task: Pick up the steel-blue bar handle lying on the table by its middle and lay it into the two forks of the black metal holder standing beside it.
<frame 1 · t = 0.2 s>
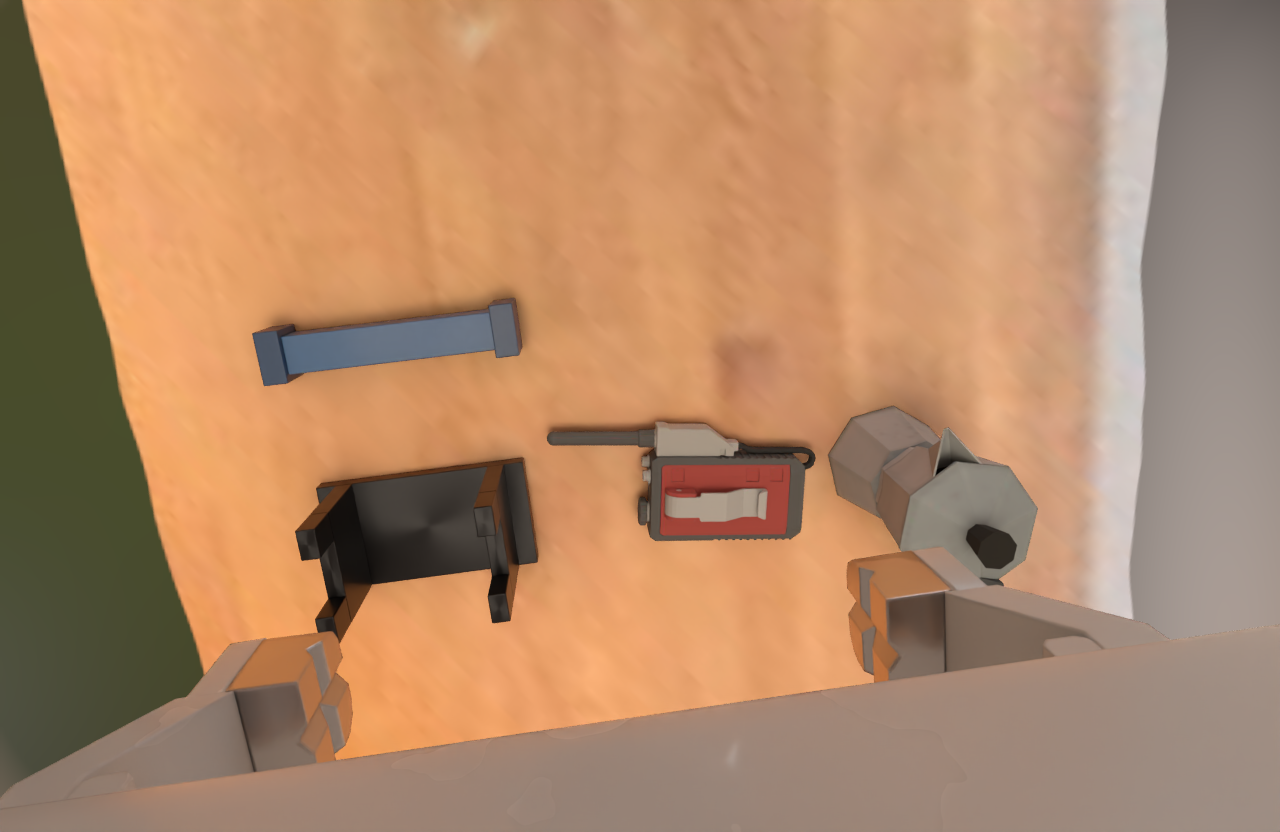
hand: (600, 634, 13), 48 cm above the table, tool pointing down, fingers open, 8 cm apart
holder: (431, 520, 62), on the table
coffee maker: (884, 472, 64), on the table
walkie-talkie: (679, 474, 63), on the table
handle: (398, 337, 59), on the table
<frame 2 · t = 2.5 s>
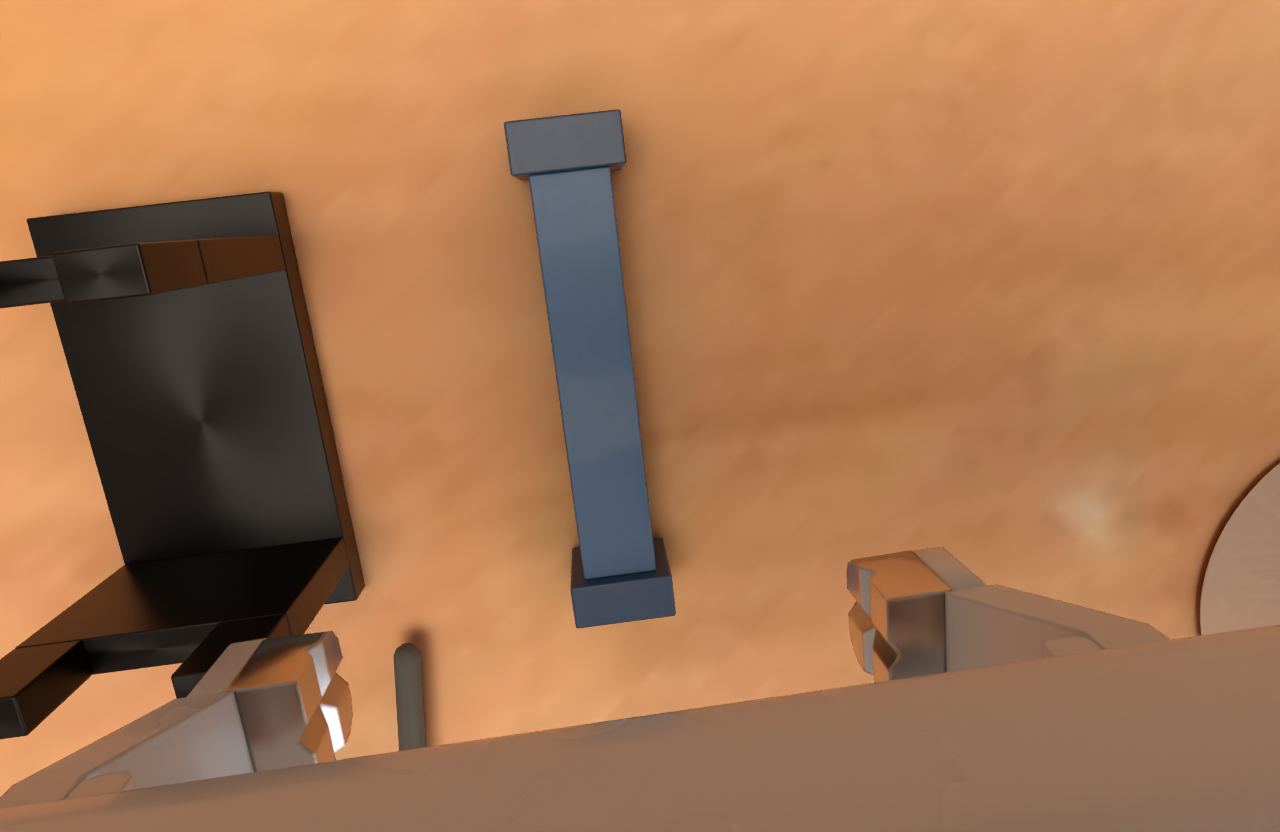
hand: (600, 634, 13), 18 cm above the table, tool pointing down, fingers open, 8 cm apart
holder: (217, 414, 30), on the table
handle: (595, 368, 31), on the table
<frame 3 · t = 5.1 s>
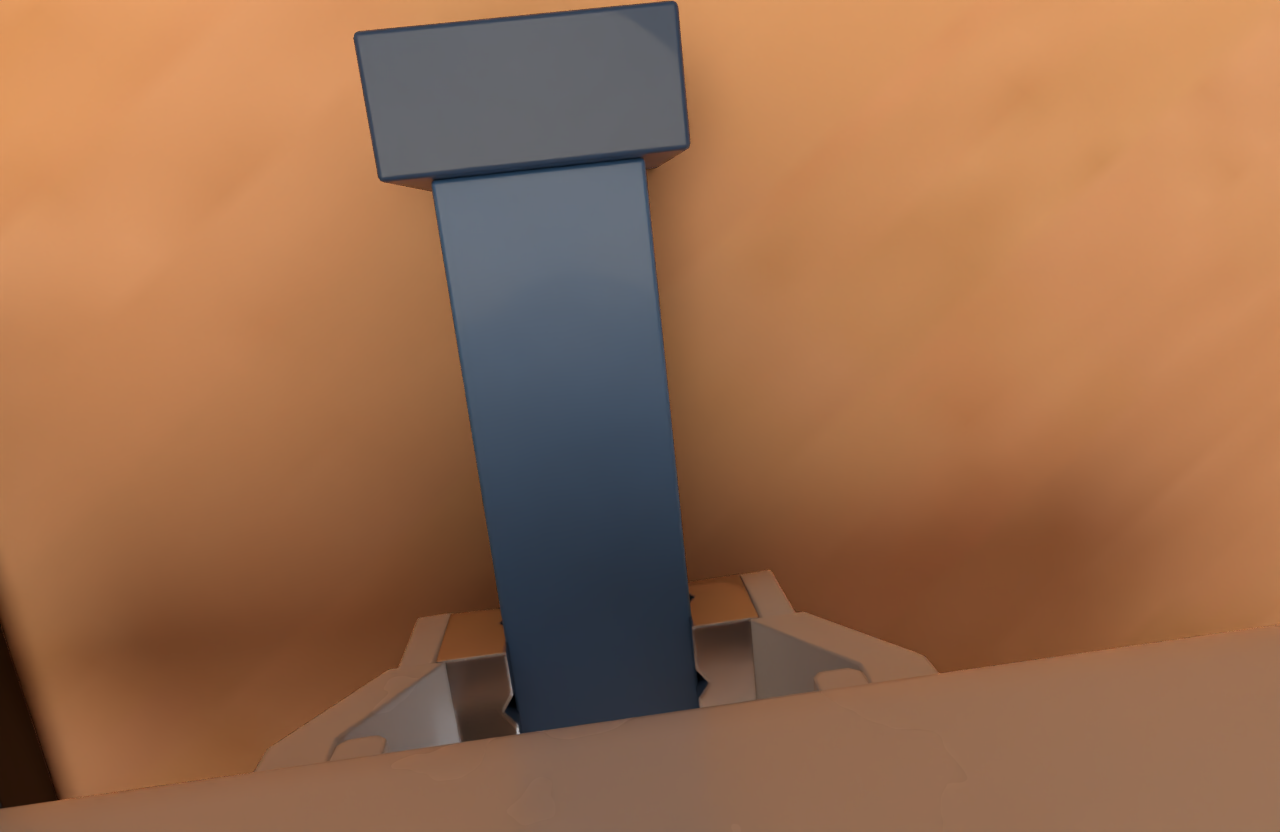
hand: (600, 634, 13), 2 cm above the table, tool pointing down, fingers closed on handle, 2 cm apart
handle: (599, 588, 15), on the table, touching gripper
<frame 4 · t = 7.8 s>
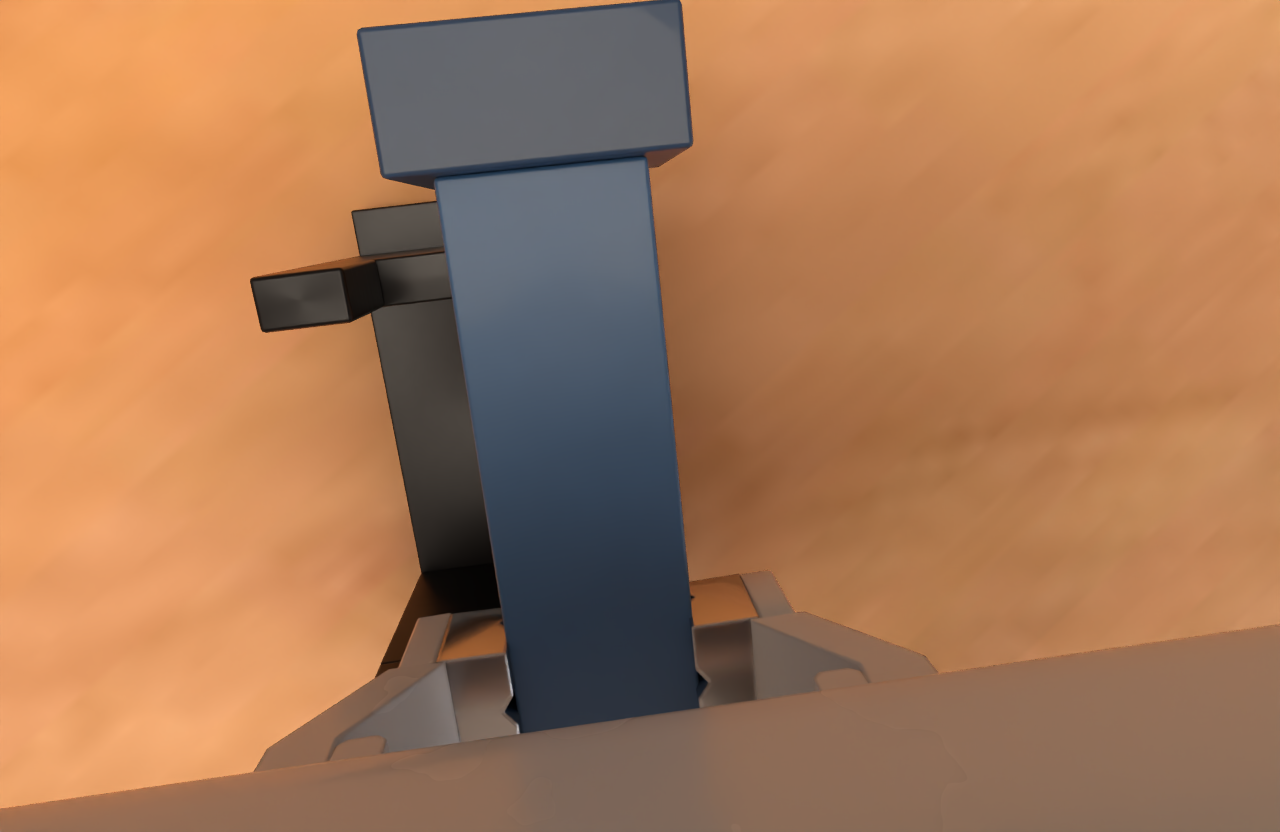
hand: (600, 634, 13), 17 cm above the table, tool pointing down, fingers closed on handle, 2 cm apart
holder: (516, 415, 29), on the table
handle: (599, 587, 15), point 15 cm above the table, touching gripper
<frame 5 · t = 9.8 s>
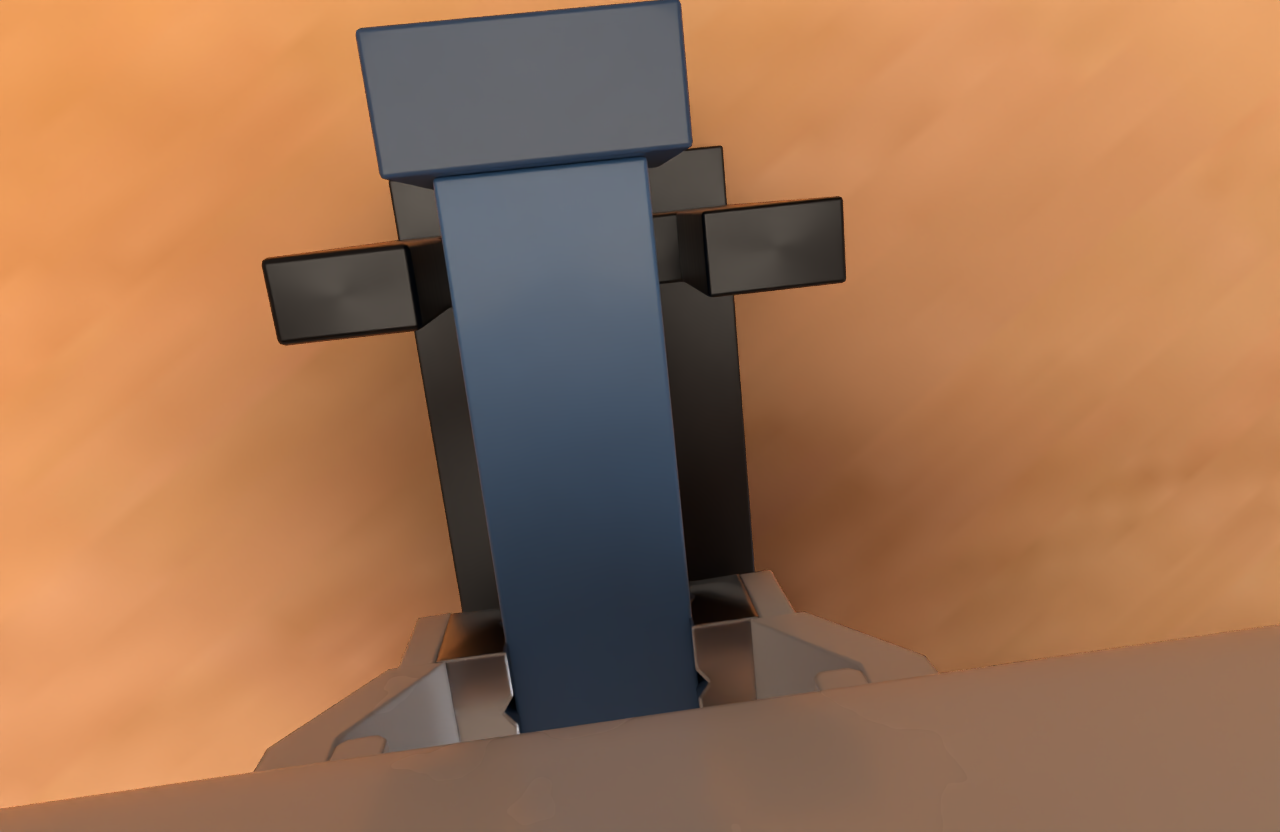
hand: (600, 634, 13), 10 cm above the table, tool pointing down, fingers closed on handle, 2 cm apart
holder: (592, 449, 23), on the table
handle: (599, 588, 15), point 8 cm above the table, touching gripper
when the fingers open (8 cm above the table, at t = 10.6 s): handle stays where it is, resting on holder.
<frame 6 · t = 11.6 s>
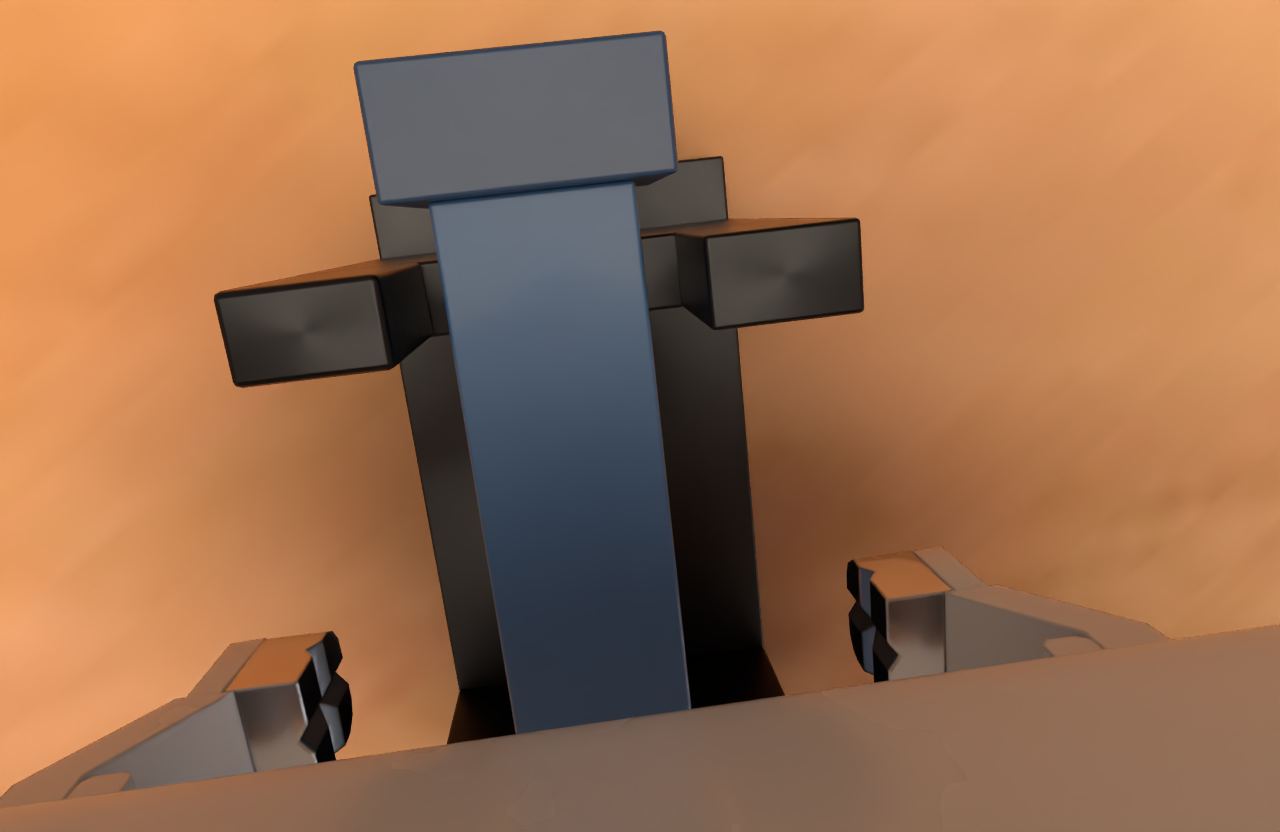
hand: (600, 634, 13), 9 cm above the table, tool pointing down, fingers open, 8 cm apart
holder: (588, 476, 21), on the table
handle: (594, 594, 15), point 7 cm above the table, touching holder
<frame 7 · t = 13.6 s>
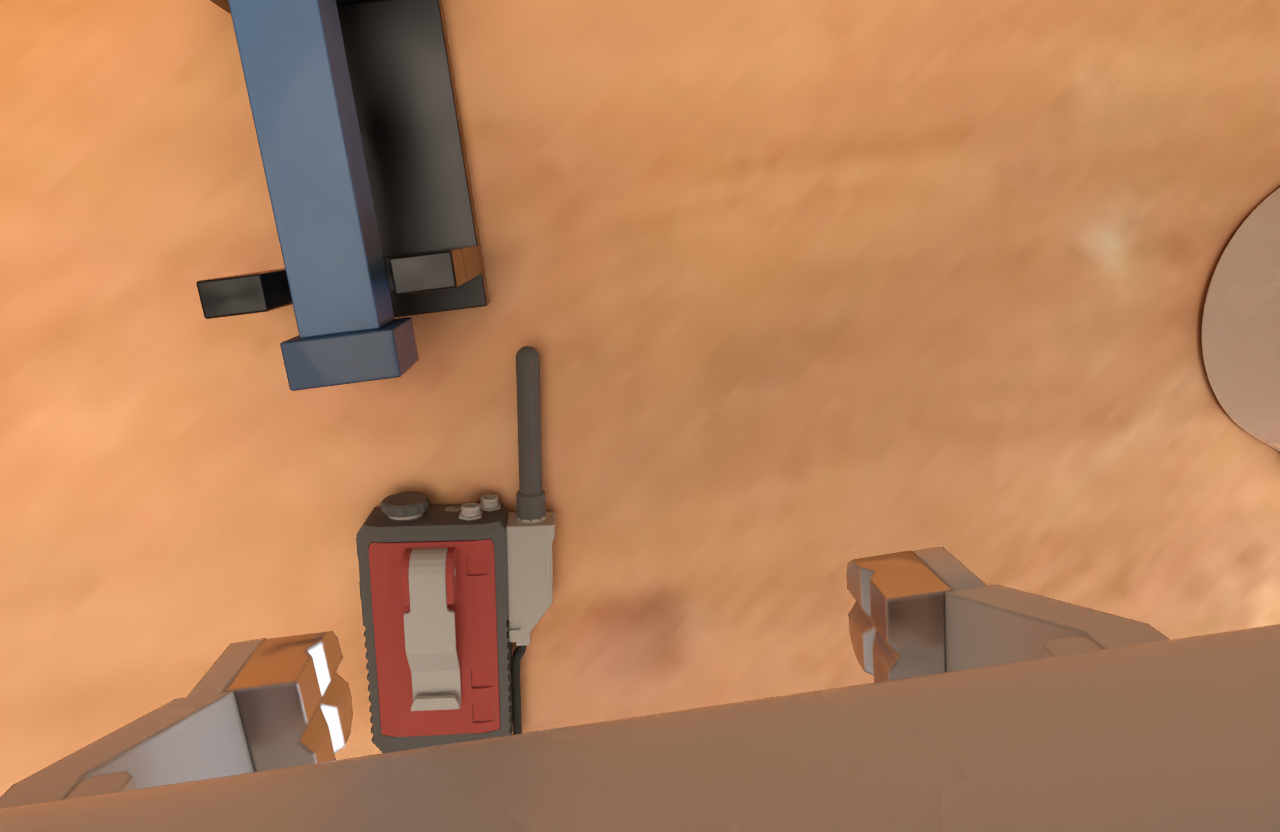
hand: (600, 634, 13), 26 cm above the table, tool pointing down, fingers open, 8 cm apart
holder: (366, 138, 35), on the table
walkie-talkie: (463, 549, 39), on the table
handle: (322, 121, 28), point 7 cm above the table, touching holder
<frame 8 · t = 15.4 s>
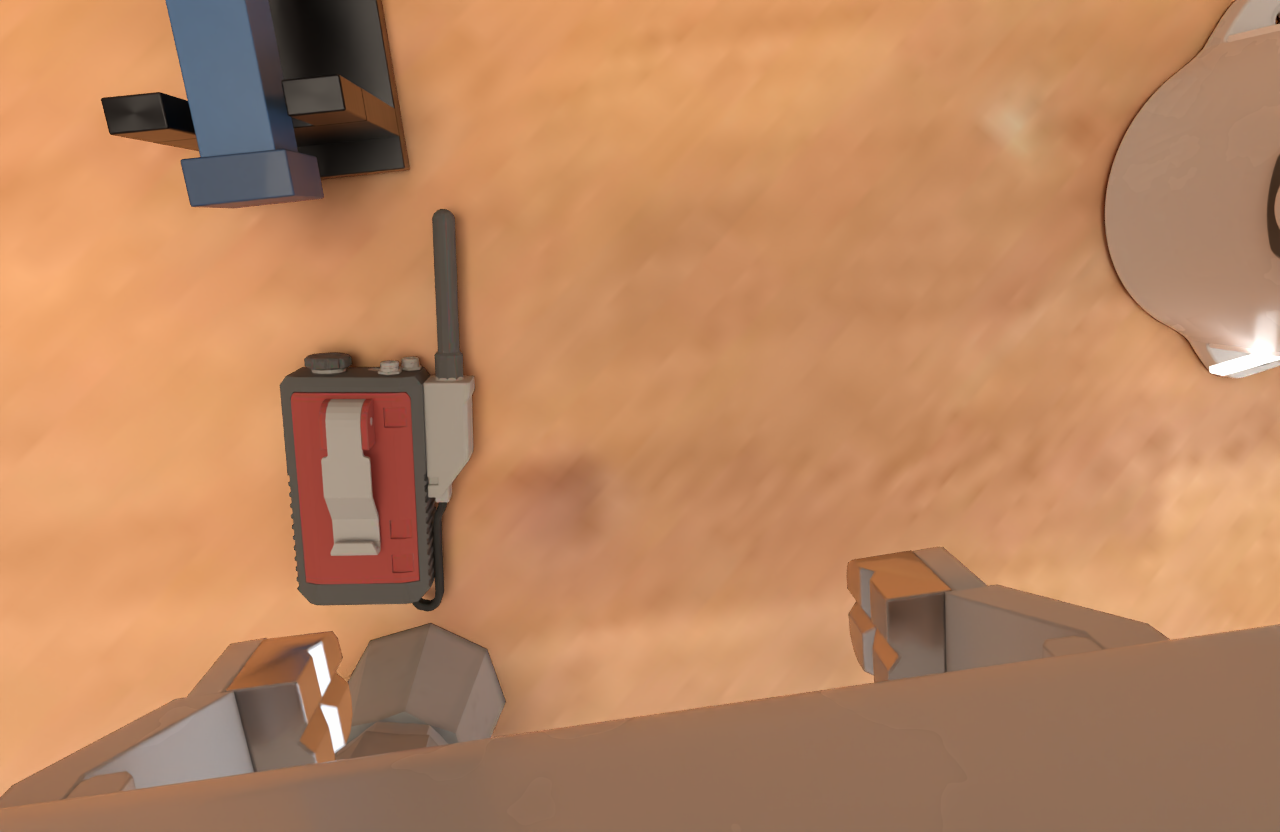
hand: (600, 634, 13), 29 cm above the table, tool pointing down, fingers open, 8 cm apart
holder: (290, 5, 37), on the table
coffee maker: (406, 699, 45), on the table
walkie-talkie: (389, 413, 41), on the table
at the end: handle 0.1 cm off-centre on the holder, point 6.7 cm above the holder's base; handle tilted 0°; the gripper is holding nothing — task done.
